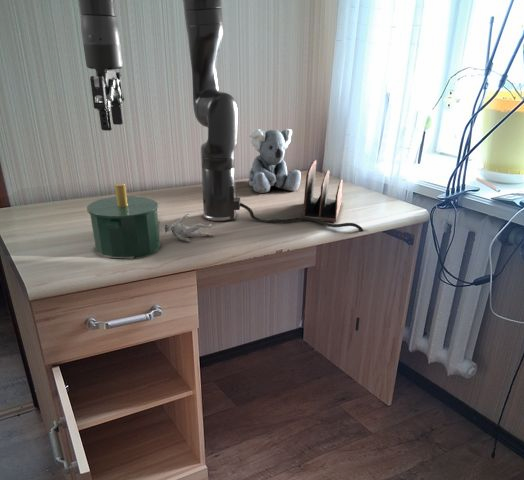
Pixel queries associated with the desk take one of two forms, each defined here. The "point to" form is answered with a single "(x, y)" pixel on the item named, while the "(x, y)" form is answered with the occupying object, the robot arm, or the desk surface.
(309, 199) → the letter holder
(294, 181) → the koala plush
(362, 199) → the desk surface
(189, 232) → the soldier figure
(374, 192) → the desk surface
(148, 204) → the lid
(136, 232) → the pot
